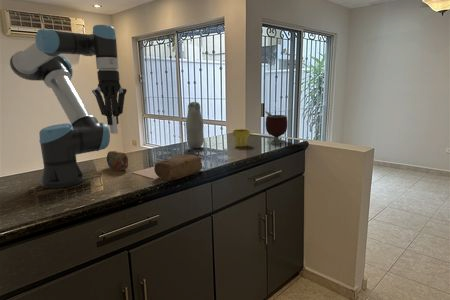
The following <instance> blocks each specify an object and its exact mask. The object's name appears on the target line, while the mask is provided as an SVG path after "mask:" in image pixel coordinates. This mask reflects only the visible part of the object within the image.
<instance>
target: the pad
mask: <svg viewBox="0 0 450 300" xmlns="http://www.w3.org/2000/svg"><path fill="white" fill-rule="evenodd" d="M154 167H155V166H151V167H146V168H144V169H140V170H139V169H138V170H136V171H135V170H134V171H132V174H135V175H138V176H142V177H145V178H148V179H151V180H155V181H156V180H158V179H159V180H160V179H161V177H158V176H157V175H156V173H155V170H154Z"/></svg>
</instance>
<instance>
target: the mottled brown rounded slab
mask: <svg viewBox="0 0 450 300" xmlns="http://www.w3.org/2000/svg"><path fill="white" fill-rule="evenodd" d="M128 159H129V158H128V156H127V154H126V153H124V152H122V151H117V150H109V151H108V152H107V155H106V162H107V166H108V168H110V169H111V170H114V171H115V170H116V171H119V172H121V171H126V170H127V169H128V167H129V160H128Z"/></svg>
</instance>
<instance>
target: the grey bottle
mask: <svg viewBox="0 0 450 300" xmlns="http://www.w3.org/2000/svg"><path fill="white" fill-rule="evenodd" d="M185 130H186V131H185V132H186V143H187V145H188V147H189V148H192V149H200V148H202V146H203V144H204V141H205V139H204V137H205V136H204V120H203V116H202V111H201V104H200V103H199V102H197V101H190V102H189V103H188V105H187V116H186V119H185Z"/></svg>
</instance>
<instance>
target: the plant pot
mask: <svg viewBox="0 0 450 300" xmlns="http://www.w3.org/2000/svg"><path fill="white" fill-rule="evenodd" d="M232 136H233V138H234V142H235V146H236V147H239V148H240V147H242V148H243V146H244V147H246V146H247V144H248V140H249V136H250V130H249V129H245V128H238V129H233V130H232Z"/></svg>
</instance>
